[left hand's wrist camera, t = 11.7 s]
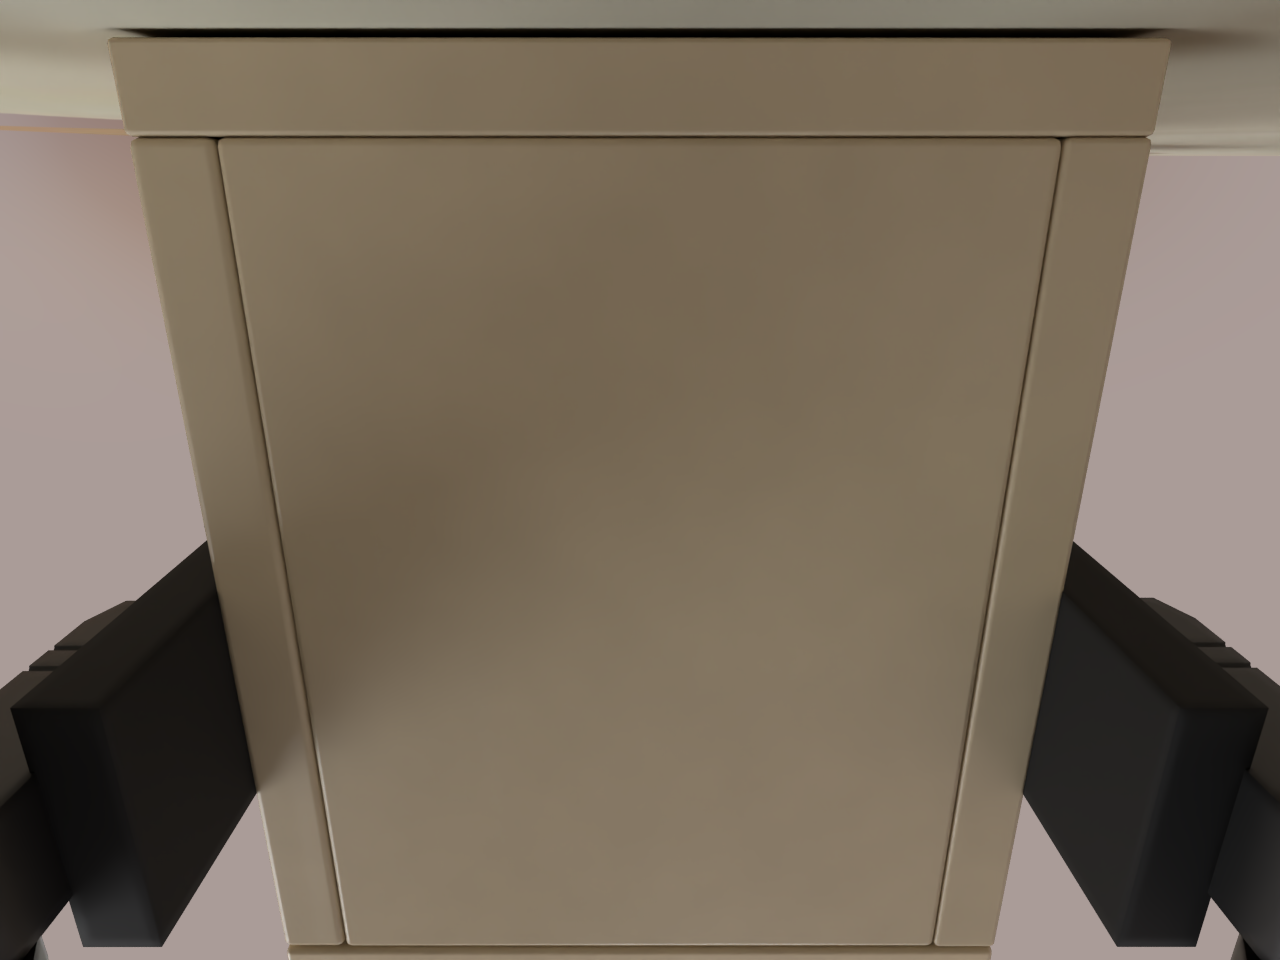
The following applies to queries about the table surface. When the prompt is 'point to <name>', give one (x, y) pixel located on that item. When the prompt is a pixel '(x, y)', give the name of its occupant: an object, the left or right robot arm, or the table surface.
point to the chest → (639, 460)
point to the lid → (637, 952)
